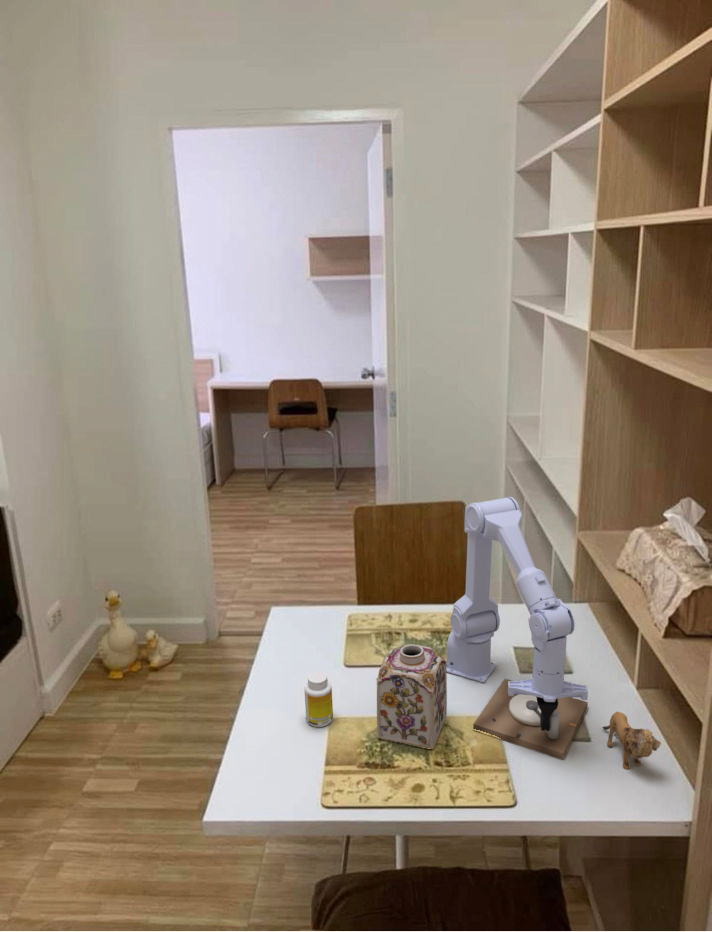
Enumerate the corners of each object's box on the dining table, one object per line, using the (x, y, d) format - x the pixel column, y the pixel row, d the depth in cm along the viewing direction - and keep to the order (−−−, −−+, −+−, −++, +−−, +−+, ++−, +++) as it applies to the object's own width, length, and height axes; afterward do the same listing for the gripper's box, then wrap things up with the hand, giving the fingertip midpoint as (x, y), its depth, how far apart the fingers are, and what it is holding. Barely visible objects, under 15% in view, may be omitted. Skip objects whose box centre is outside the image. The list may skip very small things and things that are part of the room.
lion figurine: (661, 777, 130) (666, 735, 128) (635, 783, 129) (639, 740, 126) (613, 727, 144) (617, 688, 141) (590, 732, 143) (593, 693, 140)
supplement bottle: (337, 723, 148) (335, 680, 145) (312, 731, 145) (310, 687, 142) (326, 708, 153) (324, 666, 150) (302, 716, 150) (299, 673, 147)
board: (473, 730, 144) (473, 723, 144) (504, 684, 159) (504, 677, 158) (563, 760, 135) (563, 752, 135) (587, 708, 150) (587, 701, 149)
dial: (501, 703, 149) (502, 682, 148) (539, 694, 152) (540, 674, 150) (534, 744, 137) (535, 721, 136) (576, 734, 139) (577, 712, 138)
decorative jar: (433, 752, 138) (433, 671, 133) (376, 740, 142) (374, 660, 137) (447, 715, 149) (448, 638, 144) (394, 705, 153) (392, 630, 148)
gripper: (510, 676, 132) (508, 738, 136) (592, 680, 130) (587, 743, 134) (508, 655, 138) (505, 715, 142) (586, 658, 137) (581, 719, 141)
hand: (545, 727), depth 139 cm, fingers closed, pressing on dial
